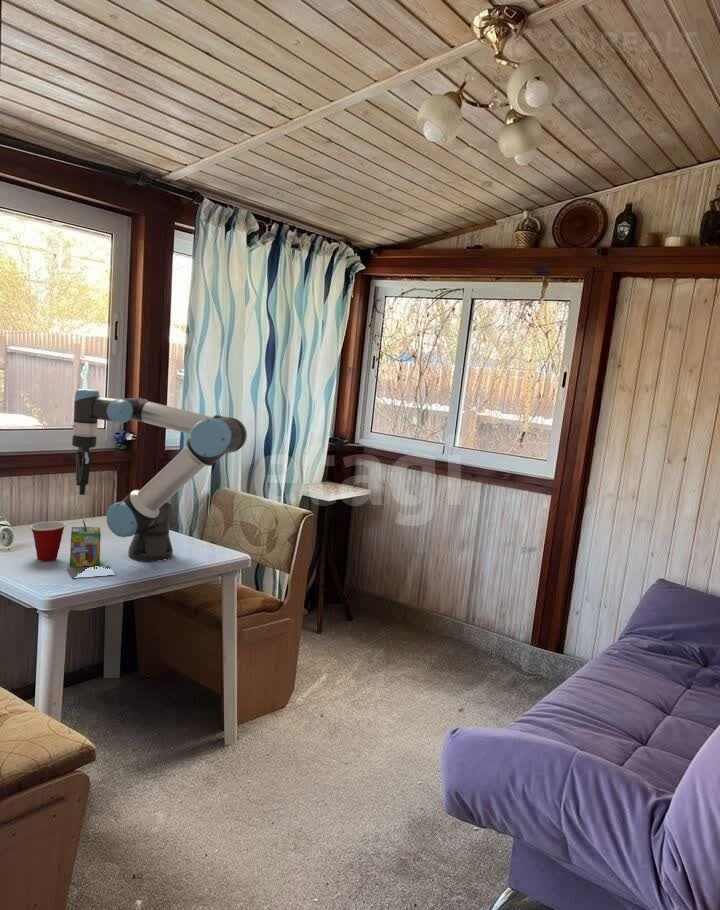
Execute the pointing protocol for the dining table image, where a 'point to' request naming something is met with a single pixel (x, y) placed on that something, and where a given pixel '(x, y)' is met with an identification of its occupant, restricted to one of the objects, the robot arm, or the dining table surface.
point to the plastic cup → (47, 539)
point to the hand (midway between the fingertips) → (80, 503)
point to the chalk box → (85, 546)
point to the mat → (80, 570)
